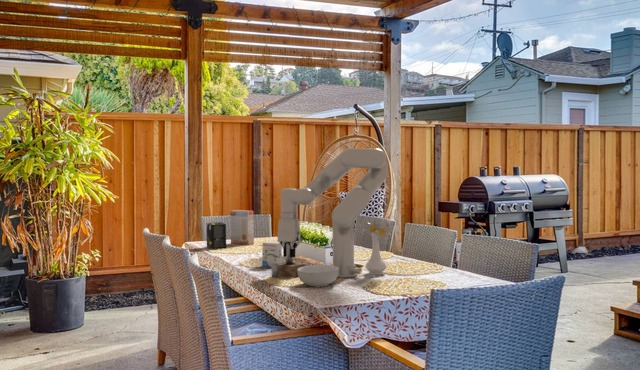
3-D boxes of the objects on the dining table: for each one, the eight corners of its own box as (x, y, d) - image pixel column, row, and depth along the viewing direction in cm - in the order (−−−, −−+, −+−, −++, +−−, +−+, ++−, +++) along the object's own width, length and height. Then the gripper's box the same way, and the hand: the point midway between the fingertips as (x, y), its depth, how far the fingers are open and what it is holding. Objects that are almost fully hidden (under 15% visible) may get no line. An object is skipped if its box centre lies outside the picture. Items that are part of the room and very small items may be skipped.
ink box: (261, 266, 290) (261, 242, 289) (267, 264, 294) (267, 240, 293) (276, 267, 286) (276, 243, 285) (282, 265, 290) (282, 241, 289)
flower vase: (375, 278, 256) (375, 220, 255) (355, 271, 273) (354, 217, 272) (401, 276, 262) (400, 219, 260) (379, 269, 278) (379, 216, 277)
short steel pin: (279, 277, 262) (279, 263, 262) (275, 278, 260) (275, 264, 259) (274, 276, 264) (274, 262, 264) (270, 277, 261) (269, 263, 261)
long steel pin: (289, 270, 264) (289, 238, 264) (284, 269, 266) (284, 238, 265) (294, 269, 266) (294, 238, 266) (288, 268, 268) (288, 237, 268)
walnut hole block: (304, 274, 267) (304, 263, 266) (293, 277, 260) (293, 266, 260) (287, 272, 272) (287, 261, 272) (275, 275, 266) (275, 264, 266)
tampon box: (206, 247, 356) (205, 222, 355) (221, 246, 360) (221, 221, 359) (211, 249, 346) (210, 224, 345) (226, 248, 350) (226, 223, 349)
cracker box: (254, 244, 366) (253, 210, 365) (248, 245, 361) (247, 211, 360) (236, 242, 374) (236, 209, 373) (230, 243, 369) (229, 210, 368)
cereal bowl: (315, 279, 256) (315, 263, 256) (346, 284, 246) (346, 267, 246) (289, 286, 243) (289, 268, 243) (320, 291, 233) (320, 273, 232)
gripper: (269, 215, 267) (270, 256, 268) (298, 217, 257) (298, 259, 258) (280, 214, 273) (280, 254, 274) (309, 216, 263) (309, 257, 264)
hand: (289, 256), depth 266 cm, fingers closed on long steel pin, 3 cm apart
